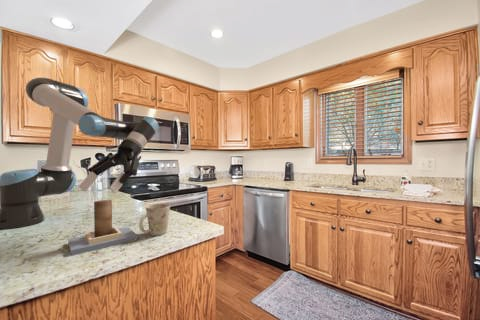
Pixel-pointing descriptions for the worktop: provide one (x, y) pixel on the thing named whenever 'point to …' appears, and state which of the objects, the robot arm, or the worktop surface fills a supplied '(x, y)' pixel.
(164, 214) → the mug
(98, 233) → the post
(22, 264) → the worktop surface
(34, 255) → the worktop surface
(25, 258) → the worktop surface
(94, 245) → the board
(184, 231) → the worktop surface
